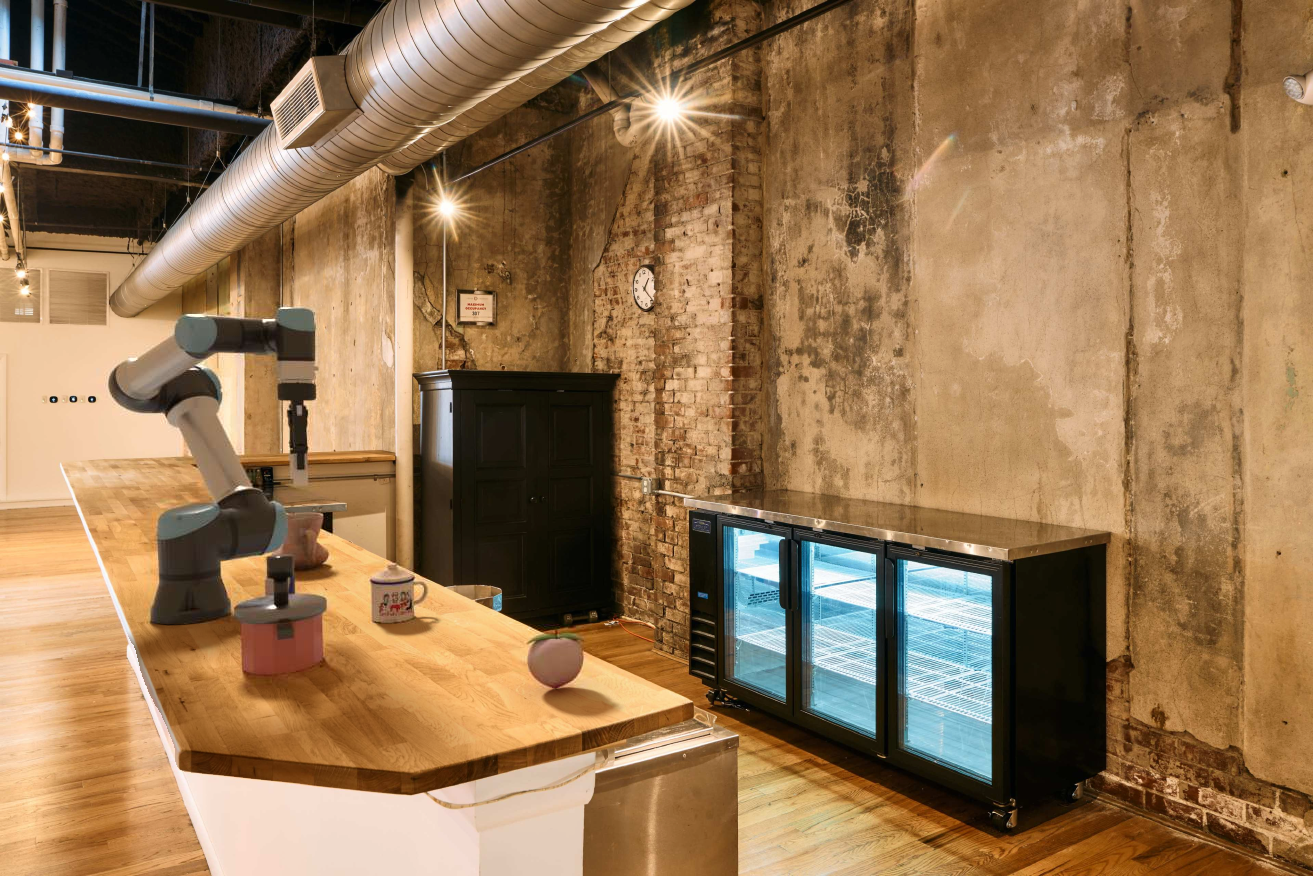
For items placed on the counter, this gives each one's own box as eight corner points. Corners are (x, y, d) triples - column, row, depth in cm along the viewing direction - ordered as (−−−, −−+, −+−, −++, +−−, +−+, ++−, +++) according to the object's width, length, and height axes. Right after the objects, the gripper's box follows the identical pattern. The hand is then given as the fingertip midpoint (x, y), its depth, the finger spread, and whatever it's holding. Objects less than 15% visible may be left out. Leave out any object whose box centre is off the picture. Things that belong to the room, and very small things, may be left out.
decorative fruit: (535, 702, 132) (535, 639, 132) (522, 685, 140) (522, 625, 139) (593, 694, 136) (592, 632, 135) (576, 677, 144) (576, 619, 143)
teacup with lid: (376, 626, 174) (375, 570, 173) (365, 616, 182) (364, 562, 181) (434, 618, 180) (433, 563, 180) (421, 608, 188) (420, 556, 187)
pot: (328, 674, 145) (327, 622, 144) (243, 686, 139) (241, 632, 138) (316, 641, 164) (315, 595, 163) (241, 650, 158) (239, 602, 157)
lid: (214, 619, 146) (212, 561, 145) (278, 598, 160) (276, 546, 160) (285, 627, 141) (284, 567, 141) (344, 605, 156) (343, 551, 155)
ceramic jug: (263, 565, 233) (261, 514, 232) (317, 559, 242) (316, 509, 241) (282, 577, 219) (281, 522, 218) (339, 569, 228) (338, 517, 227)
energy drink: (302, 633, 169) (300, 573, 168) (282, 640, 164) (280, 579, 163) (280, 630, 171) (279, 571, 170) (260, 638, 166) (258, 577, 165)
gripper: (320, 381, 170) (322, 487, 171) (311, 382, 192) (313, 475, 193) (279, 381, 166) (282, 489, 168) (275, 381, 189) (277, 476, 190)
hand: (298, 482), depth 181 cm, fingers open, 13 cm apart
